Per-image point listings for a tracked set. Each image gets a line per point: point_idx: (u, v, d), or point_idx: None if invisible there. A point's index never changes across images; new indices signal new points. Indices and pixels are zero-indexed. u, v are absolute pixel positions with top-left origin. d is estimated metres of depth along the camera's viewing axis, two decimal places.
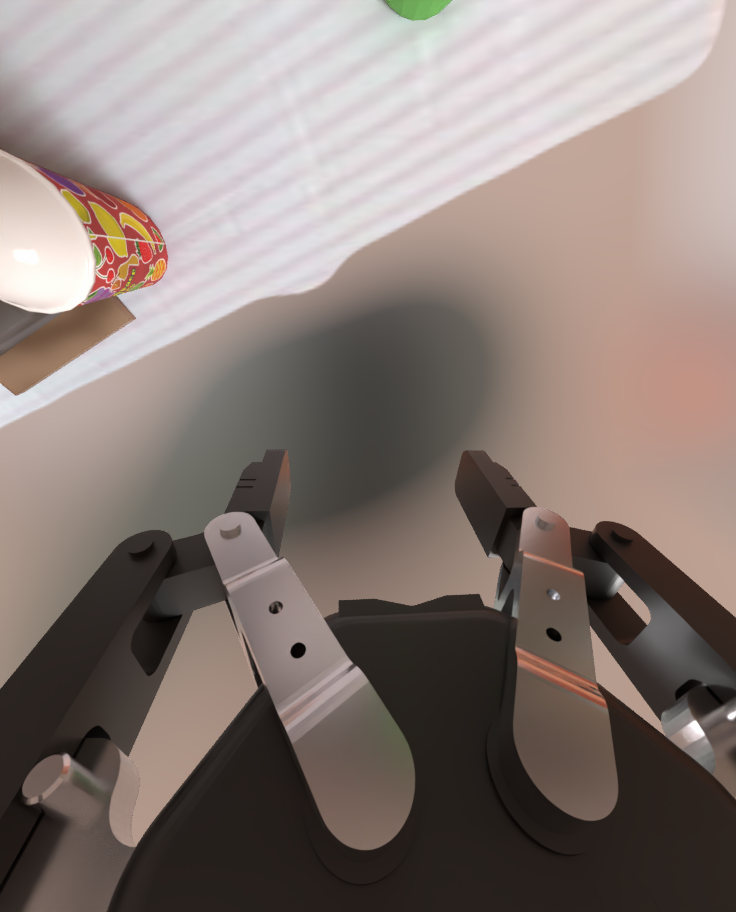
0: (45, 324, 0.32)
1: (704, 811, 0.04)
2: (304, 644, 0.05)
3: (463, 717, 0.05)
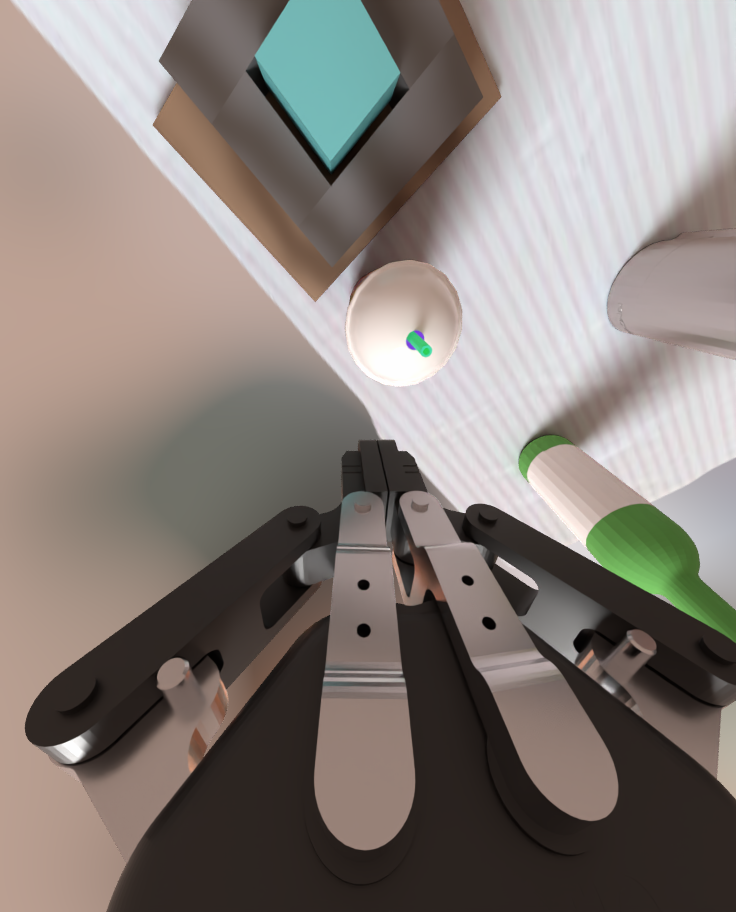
0: (279, 203, 0.28)
1: (704, 811, 0.04)
2: (371, 629, 0.06)
3: (462, 717, 0.05)
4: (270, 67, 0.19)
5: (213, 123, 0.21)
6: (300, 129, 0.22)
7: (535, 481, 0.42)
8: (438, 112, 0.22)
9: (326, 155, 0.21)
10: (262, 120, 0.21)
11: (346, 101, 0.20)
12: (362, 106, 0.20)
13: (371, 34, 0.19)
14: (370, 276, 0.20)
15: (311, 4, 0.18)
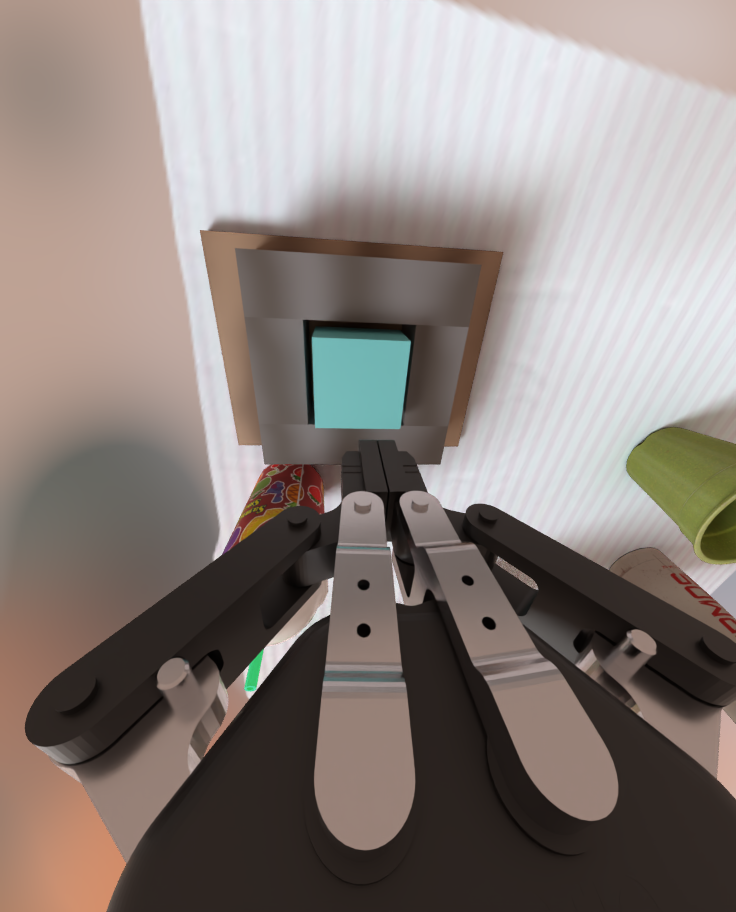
0: None
1: (704, 811, 0.04)
2: (371, 629, 0.06)
3: (462, 717, 0.05)
4: (317, 352, 0.20)
5: (246, 318, 0.20)
6: None
7: None
8: (410, 450, 0.27)
9: (315, 422, 0.22)
10: (290, 352, 0.22)
11: (355, 412, 0.22)
12: (362, 422, 0.23)
13: (398, 399, 0.22)
14: None
15: (374, 354, 0.20)
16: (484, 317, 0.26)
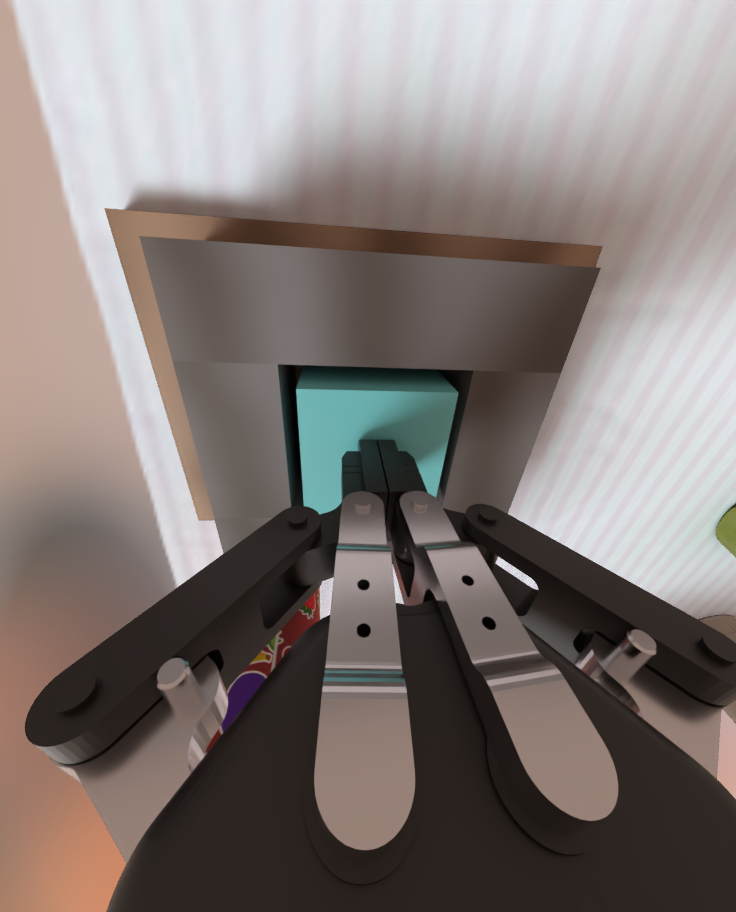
0: None
1: (704, 811, 0.04)
2: (371, 629, 0.06)
3: (462, 717, 0.05)
4: (306, 412, 0.12)
5: (176, 362, 0.11)
6: None
7: None
8: None
9: None
10: (258, 416, 0.13)
11: None
12: None
13: (433, 475, 0.14)
14: None
15: (399, 413, 0.12)
16: None
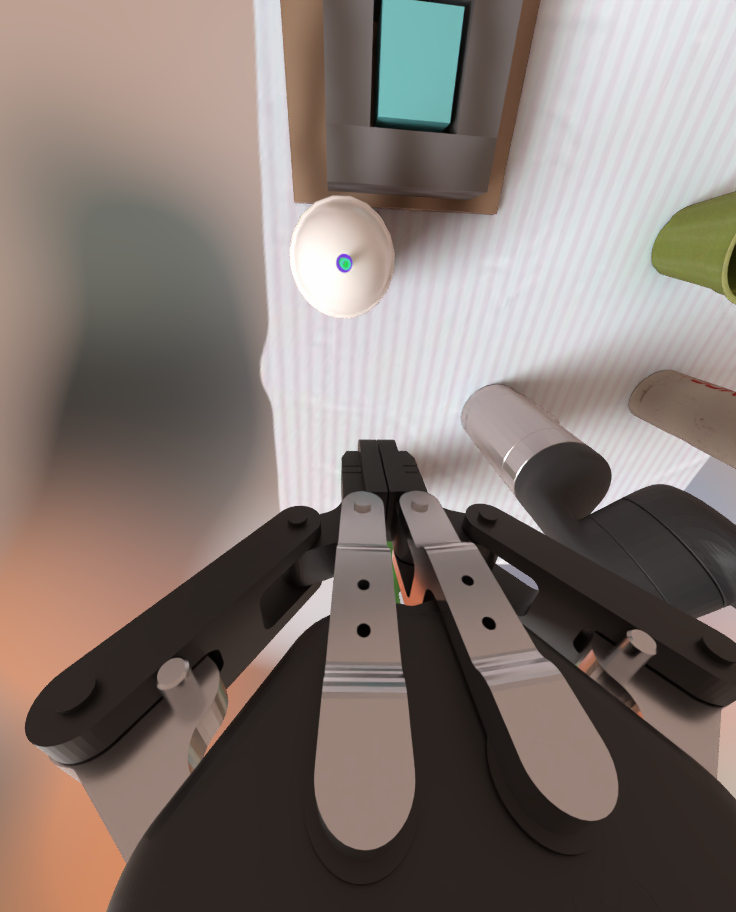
0: (325, 99, 0.29)
1: (704, 811, 0.04)
2: (371, 629, 0.06)
3: (462, 717, 0.05)
4: (386, 16, 0.24)
5: None
6: (376, 79, 0.27)
7: None
8: (461, 169, 0.29)
9: (378, 110, 0.26)
10: (360, 22, 0.23)
11: (413, 97, 0.26)
12: (418, 112, 0.26)
13: (450, 83, 0.26)
14: (348, 197, 0.23)
15: (433, 21, 0.24)
16: (528, 39, 0.28)
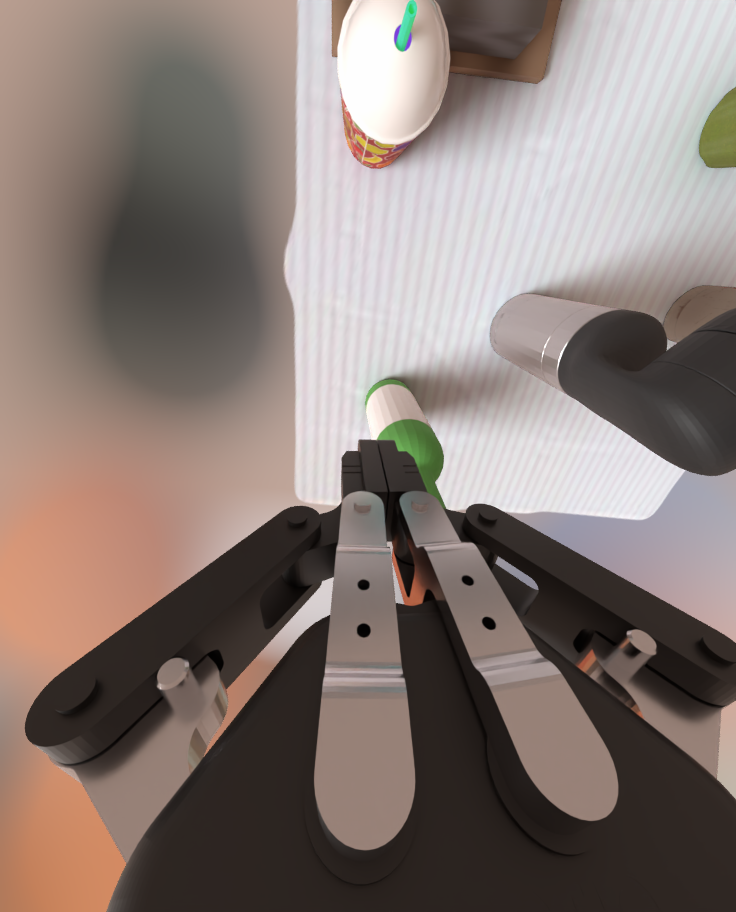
0: None
1: (704, 811, 0.04)
2: (371, 629, 0.06)
3: (463, 717, 0.05)
4: None
5: None
6: None
7: (372, 399, 0.46)
8: None
9: None
10: None
11: None
12: None
13: None
14: None
15: None
16: None
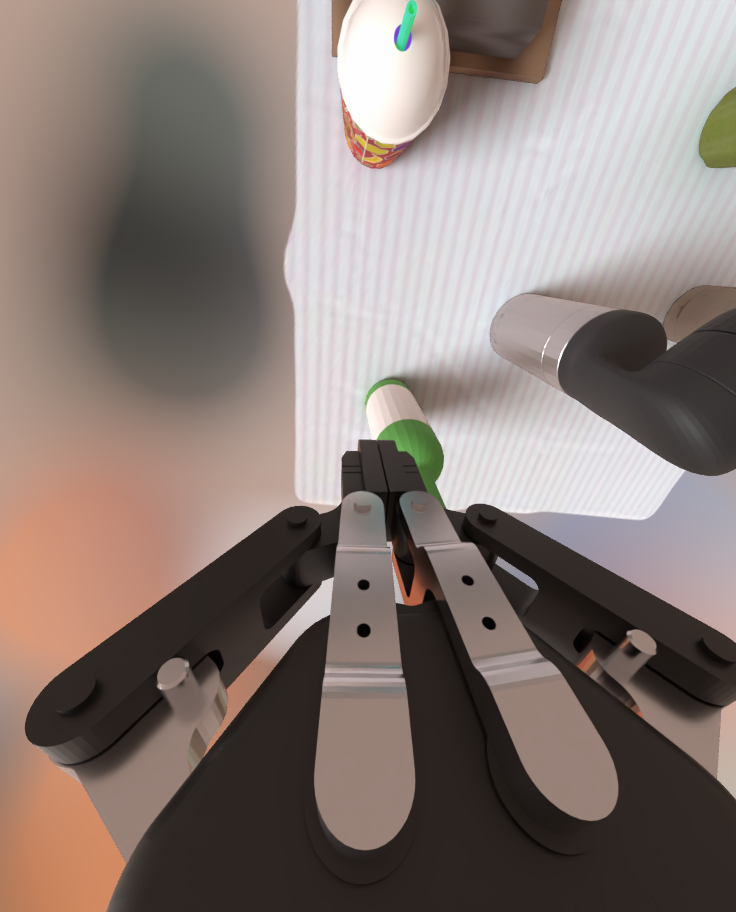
0: None
1: (704, 811, 0.04)
2: (371, 629, 0.06)
3: (463, 717, 0.05)
4: None
5: None
6: None
7: (372, 399, 0.46)
8: None
9: None
10: None
11: None
12: None
13: None
14: None
15: None
16: None
